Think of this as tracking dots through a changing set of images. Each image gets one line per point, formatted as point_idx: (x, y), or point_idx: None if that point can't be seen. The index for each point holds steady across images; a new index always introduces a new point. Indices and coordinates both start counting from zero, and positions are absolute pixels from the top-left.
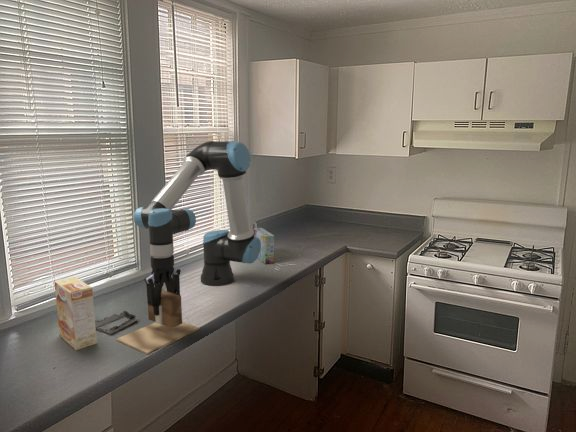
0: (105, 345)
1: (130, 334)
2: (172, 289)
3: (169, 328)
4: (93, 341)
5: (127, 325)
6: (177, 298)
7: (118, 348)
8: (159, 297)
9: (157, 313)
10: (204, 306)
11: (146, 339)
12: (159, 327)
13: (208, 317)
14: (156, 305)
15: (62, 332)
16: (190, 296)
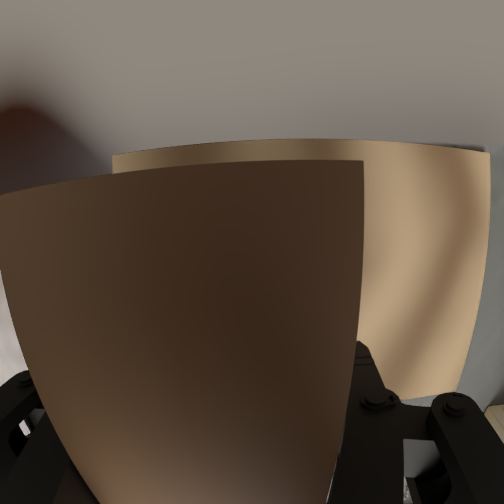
0: (492, 375)
1: (402, 387)
2: (30, 485)
3: None
4: (502, 411)
5: None
6: (93, 181)
7: (499, 316)
8: (365, 491)
9: (355, 351)
10: (4, 335)
11: (409, 281)
12: None
13: None
14: (397, 404)
15: None
16: (22, 423)
